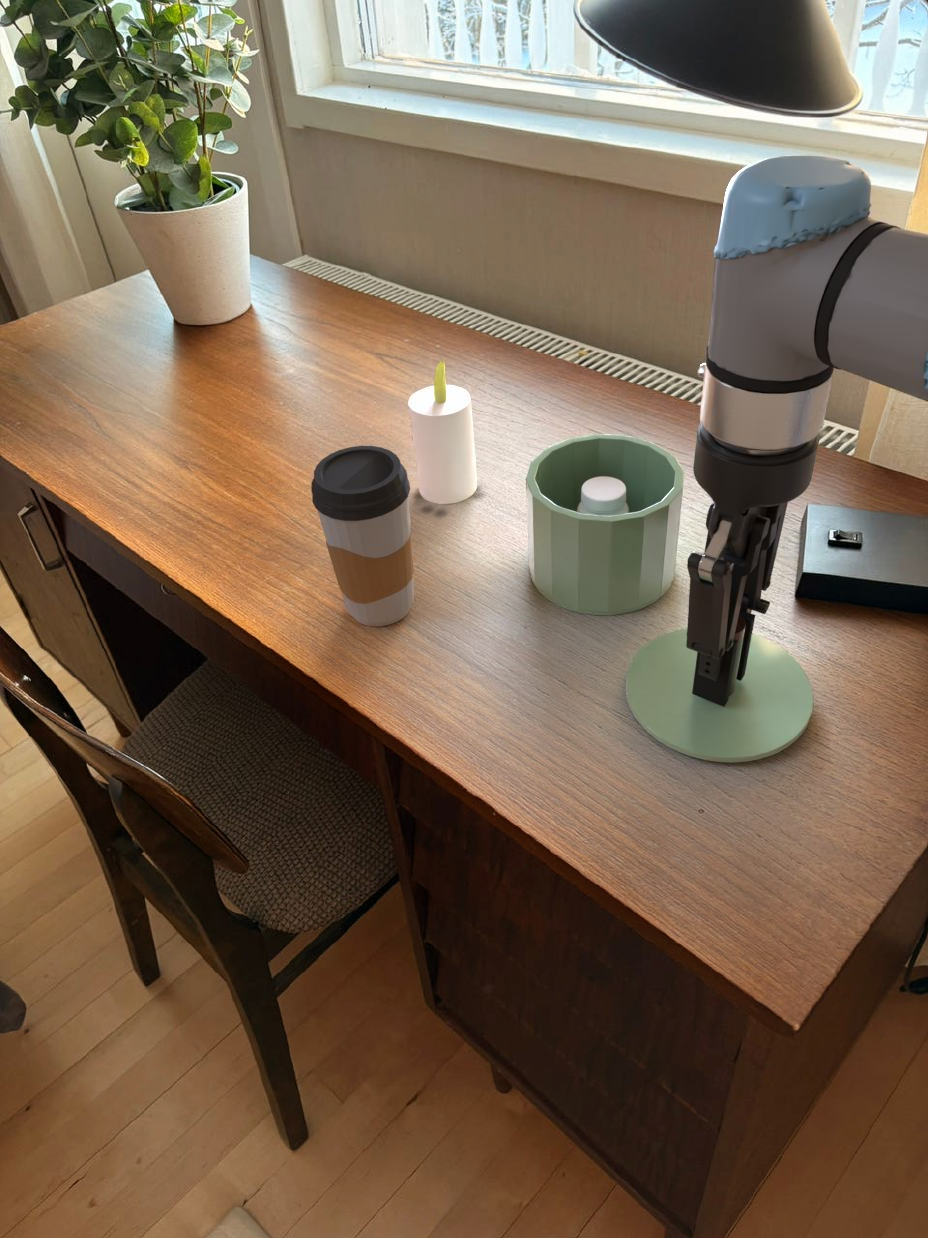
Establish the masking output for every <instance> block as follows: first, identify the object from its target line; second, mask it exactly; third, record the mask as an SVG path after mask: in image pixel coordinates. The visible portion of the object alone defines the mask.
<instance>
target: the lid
mask: <svg viewBox="0 0 928 1238" xmlns="http://www.w3.org/2000/svg"><path fill="white" fill-rule="evenodd" d="M745 628H746V622H745V620H744V618H743V617H742V616H741V615H739V616H738V621H737V625H736V630H735V635H734V639H735V640H738V645H737V651H736V657H735V662H734V668H733V674H732V680H731V686H730V692H729V698H728V702H727V703H726V705H725V706H724V707H723V706H721V705H718V704H716V703H714V702H711V701H709V700H706V699H704V698H701V697H699V696H696V695H694V694H692V690H693V682H694V675H695V667H696V659H697V652H696V651H694V650H691V649H688V648H687V647H686V643H687V627H683V628H678V629H675V630H672V631H668V632H665V633H663V634H662V635H659V636H657V637H655V638H653V639H652V640H650V641H649V642H648V643H646V644H645V645H643V646H642V647H641V649H640V650H638V652H637V653H636V654H635V656H634V657H633V659H632V660H631V662H630V664H629V667H628V669H627V673H626V677H625V695H626V700H627V704H628V707H629V710H630V711H631V713H632V715H633V716H634V718H635V719H636V721H637V722H638V723H639V725H640V726H641V727H642V728H643V729H644V730H645V731H646V732H647V734H649V735H650V736H652V737H653V738H654V739H655V740H657V741H658V742H660V743H661V744H662V745H665V746H666V747H668V748H670V749H671V750H674V751H675V752H678V753H681V754H684V755H686V756H690V757H692V758H696V759H699V760H704V761H710V762H716V763H717V762H718V763H744V762H745V763H746V762H751V761H757V760H761V759H765V758H768V757H771V756H773V755H776V754H778V753H780V752H781V751H783V750H785V749H786V748H789V747H790V746H791V745H793V743H795V742H796V741H797V740H798V739H799V738H800V737H801V736H802V734H803V733H804V732H805V730H806V729H807V728H808V726H809V723H810V721H811V718H812V713H813V710H814V691H813V687H812V684H811V682H810V679H809V677H808V675H807V673H806V672H805V670H804V669H803V667H802V666H801V665H800V663H799V662H798V661H797V660H796V659H795V657H793V656H792V655H791V654H790V653H788V652H787V651H786V650H785V649H784V648H782V647H781V646H779V645H777V644H776V643H774V642H772V641H771V640H769V639H767V638H765V637H763V636H760V635H758V634H756V633H753V632H752V637H751V642H750V648H749V654H748V659H747V665H746V670H745V675H744V677H743V678H742V680H741V681H740V680H737V674H738V668H739V662H740V656H741V651H742V645H743V639H744V633H745Z"/></svg>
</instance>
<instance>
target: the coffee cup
mask: <svg viewBox="0 0 928 1238" xmlns="http://www.w3.org/2000/svg"><path fill="white" fill-rule="evenodd" d="M310 484H311V487H310V488H311V494H312V495H311V497H312V498H311V500H312V501H311V502H312V504H313V506H314V508H315V509H316V511H317V514H318V518H319V520H320V524H321V527H322V531H323V534H324V537H325V545H326V548H327V552H328V555H329V557H330V561H331V564H332V565H331V566H332V568H333V571H334V574H335V578H336V582H337V584H338V586H339V590H340V591H341V595H342V598H343V601H344V605H345V608H346V610H347V612H348V614H349V615H350V616H351V617H352V618H353V619H354V620H355V621H356V622H358V623H359V624H362V625H364V626H368V627H384V626H389V625H393V624H395V623H398V622H399V621H401V620H403V619H404V618H405V617H406V616H407V615H408V614H409V612H410V611H411V609H412V606H414V601H415V585H414V572H415V570H414V554H413V553H414V552H413V536H412V534H413V533H412V525H411V517H410V499H409V495H410V492H411V484H410V480H409V477H408V471H407V468H405V467H404V465H403V464H402V463H401V459H400V458H399V457H398V455H397V454H395V453H394V452H393V451H392V450H390V449H387V448H384V447H382V446H376V445H357V446H349V447H345V448H342V449H339V450H336V451H333V452H331V453H329V454H328V455H326V456H325V457H324V458H322V459H321V460H320V461H319V462H318V463H317V464H316V466H315V467H314V470H313V478H312V480H311V483H310Z"/></svg>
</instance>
